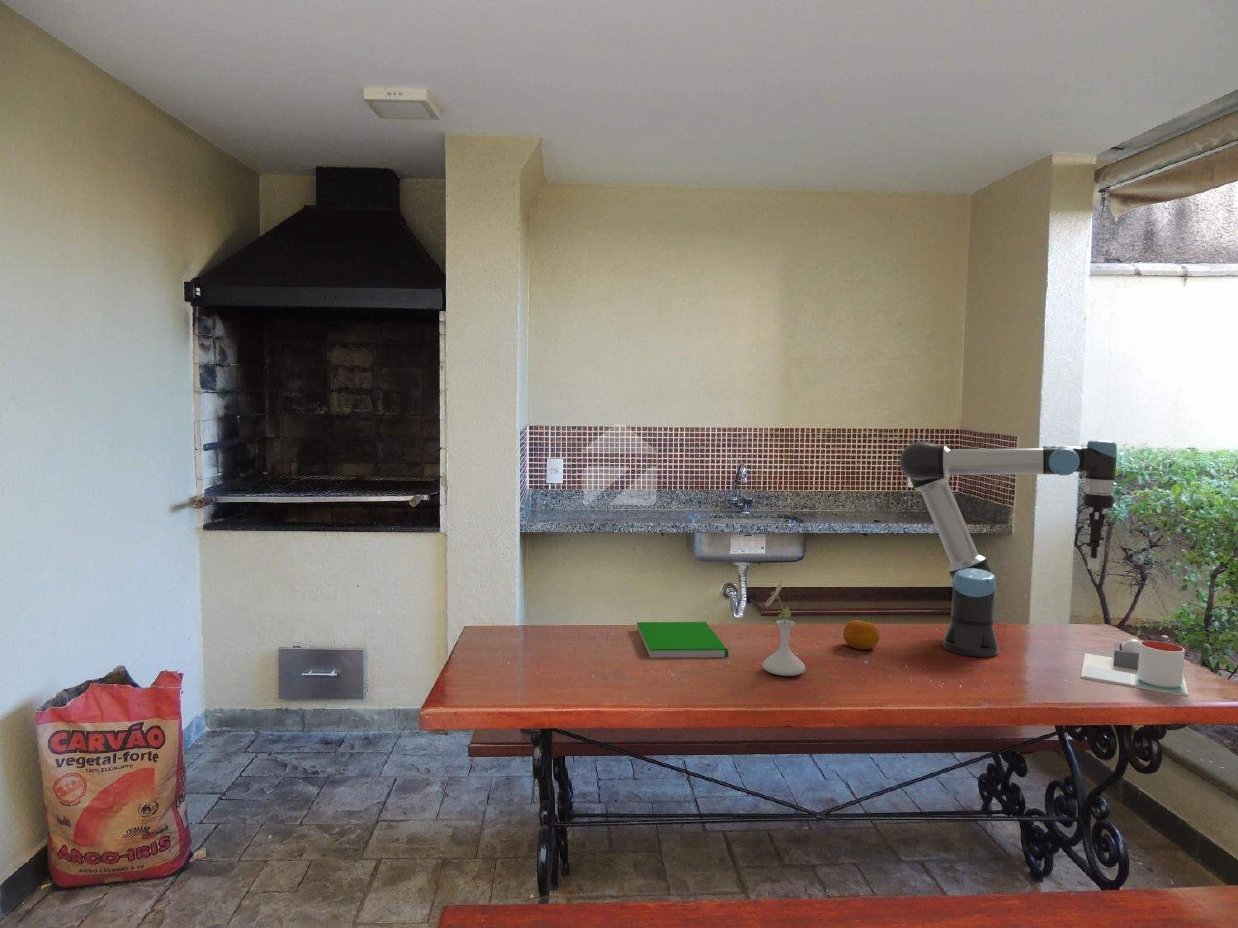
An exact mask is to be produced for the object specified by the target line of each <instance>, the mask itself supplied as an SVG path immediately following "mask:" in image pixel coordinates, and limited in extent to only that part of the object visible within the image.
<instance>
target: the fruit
mask: <svg viewBox="0 0 1238 928" xmlns="http://www.w3.org/2000/svg"><path fill="white" fill-rule="evenodd" d="M843 639H844V641H845V642H846V643H847V645H848V646H850V647H851V648H853V649H857V650H869V649H872V648H875V646H876V645H877V644H878V642H879V641H880V632H879V629H878V628H877V626H876V625H875V624H874V623H872V622H870V621H863V620H860V619H854V620H850V621H849V622H847V624H846V625H845V626H844V628H843Z"/></svg>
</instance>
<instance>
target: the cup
mask: <svg viewBox="0 0 1238 928" xmlns="http://www.w3.org/2000/svg"><path fill="white" fill-rule="evenodd" d="M1185 652H1186V650H1185V648H1183V647H1182V646H1181V645H1177V644H1174V643H1170V642H1165V641H1157V640H1143V641H1140V648H1139V661H1138V678H1139V679H1140V680H1141V681H1142V682H1144V683H1146V684H1149V685H1153V686H1157V687H1163V688H1176V687H1179V686H1180V685H1181V684H1182V679H1183V673H1184V665H1185Z"/></svg>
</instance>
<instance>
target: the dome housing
mask: <svg viewBox="0 0 1238 928" xmlns="http://www.w3.org/2000/svg"><path fill="white" fill-rule="evenodd" d="M1113 651H1114V653H1113V658H1114V664H1113V666H1116V667H1122V668H1128V669H1134V670H1138V661H1139V653H1135V652H1128V651H1122V642H1121V643H1119V642H1114V650H1113Z"/></svg>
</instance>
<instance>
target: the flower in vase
mask: <svg viewBox="0 0 1238 928" xmlns="http://www.w3.org/2000/svg"><path fill="white" fill-rule="evenodd" d="M782 587H783V581H782V582H779V583H778V584H777V586H776V589H775V591H774V590H773V591H772V592H771V595H770V597H769V598H768V599H767V600H766V603H765V604H764V606H765V607H767V608H768V607H770V605H771V604H772V603H773V602H774V601H775V599H776V600H778V602H779V604H780V607H781V612H780V613H779V614H778V615H777V617H776V619H775V621H776V622H775V623H776V624H777V627H779V633H780V634H779V635H780V644H779V648H778V649H777V651H775V652H774V653H772V654H770V656H767V657H766V658H765V659H764V660H763V662H762V664H761V665H762V668H763V669H764V670H765V671H766V672H768V673H771V674H773V675H776V676H783V677H794V676H798V675H801V674H803V673H804V672H805V671H806V665H805V664H804V662H803V661H802V660H801V659H800V658H799V657H797V656H796V655H795V654H794V652H793V651H792V650H791V648H790V635H791V631H792V630H793V629H792V628H793V627H794V626H795V625H796V622H795V621H793V620H790V619H788V618H791V615H792V613H791V610H790V608H789V606H787V607H785V608H784V606H783V604H782V601H781V599H780V597H779V594H780V592H781V590H782ZM782 617H783V619H781V618H782Z"/></svg>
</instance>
